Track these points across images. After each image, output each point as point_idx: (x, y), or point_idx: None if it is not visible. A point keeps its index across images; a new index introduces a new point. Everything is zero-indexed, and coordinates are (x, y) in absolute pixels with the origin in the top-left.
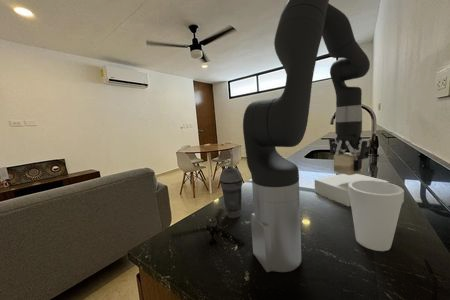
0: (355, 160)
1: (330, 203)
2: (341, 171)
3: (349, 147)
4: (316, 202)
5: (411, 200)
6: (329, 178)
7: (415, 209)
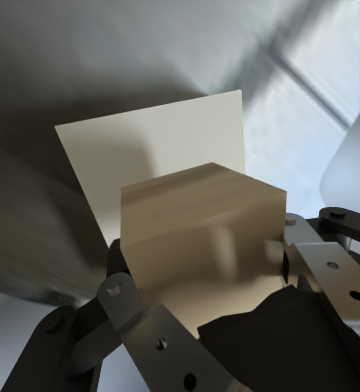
0: (125, 273)
1: (109, 83)
2: (170, 176)
3: (198, 377)
4: (128, 34)
5: (92, 295)
6: (227, 159)
7: (35, 276)
